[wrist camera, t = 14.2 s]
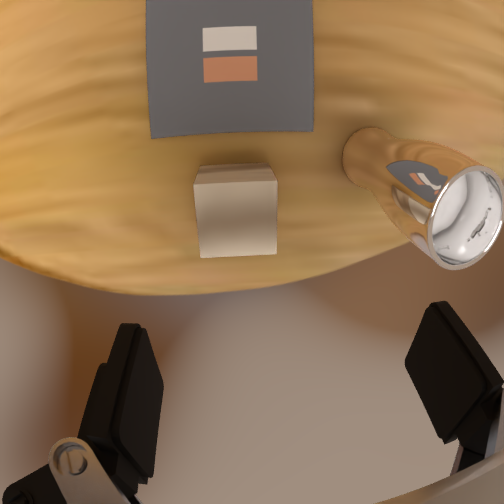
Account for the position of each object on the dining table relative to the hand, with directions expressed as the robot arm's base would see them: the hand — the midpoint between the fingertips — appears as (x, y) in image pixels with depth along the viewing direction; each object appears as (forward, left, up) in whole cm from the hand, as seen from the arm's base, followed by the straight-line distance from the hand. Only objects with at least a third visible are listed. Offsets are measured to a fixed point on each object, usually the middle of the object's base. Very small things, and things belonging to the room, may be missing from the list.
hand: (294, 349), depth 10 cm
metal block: (+2, -1, -21) cm, 21 cm away
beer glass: (-2, +11, -21) cm, 24 cm away
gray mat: (-11, -2, -21) cm, 24 cm away
